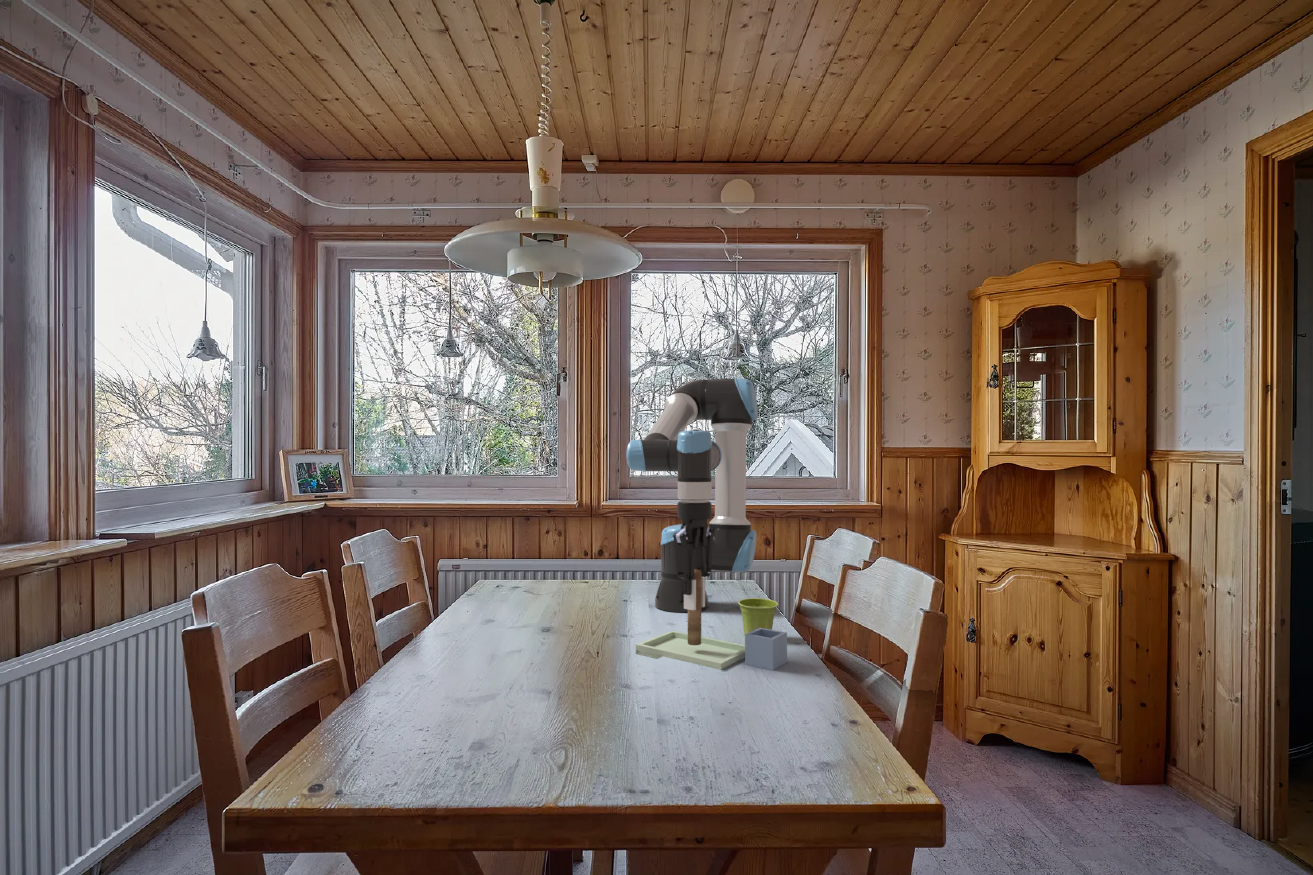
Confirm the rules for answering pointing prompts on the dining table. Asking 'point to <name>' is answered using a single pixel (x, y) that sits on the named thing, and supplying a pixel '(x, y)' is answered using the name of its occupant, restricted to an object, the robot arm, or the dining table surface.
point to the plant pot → (757, 613)
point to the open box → (766, 648)
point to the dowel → (695, 614)
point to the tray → (692, 650)
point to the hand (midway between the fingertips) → (694, 607)
